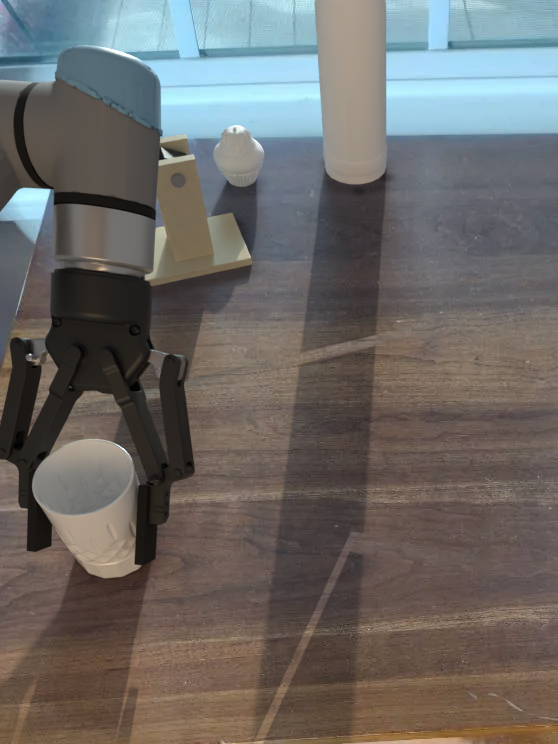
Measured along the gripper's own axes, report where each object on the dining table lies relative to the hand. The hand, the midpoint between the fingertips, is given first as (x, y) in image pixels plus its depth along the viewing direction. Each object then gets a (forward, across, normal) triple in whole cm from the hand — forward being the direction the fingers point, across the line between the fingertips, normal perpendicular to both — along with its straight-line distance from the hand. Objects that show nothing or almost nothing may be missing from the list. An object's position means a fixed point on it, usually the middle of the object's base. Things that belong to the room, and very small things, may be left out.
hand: (92, 554), depth 72 cm
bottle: (-42, -11, -48) cm, 65 cm away
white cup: (0, 0, -5) cm, 5 cm away
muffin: (-39, +2, -44) cm, 59 cm away
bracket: (-28, +4, -34) cm, 44 cm away
